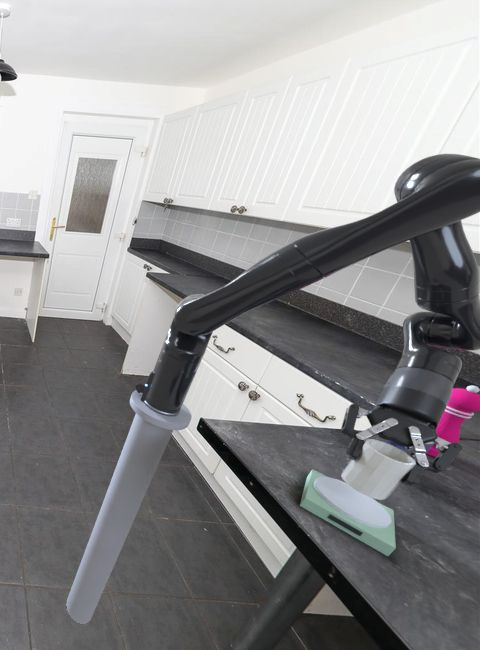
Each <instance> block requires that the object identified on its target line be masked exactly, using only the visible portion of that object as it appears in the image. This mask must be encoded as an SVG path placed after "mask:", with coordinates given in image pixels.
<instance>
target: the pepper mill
mask: <svg viewBox="0 0 480 650" xmlns="http://www.w3.org/2000/svg"><path fill="white" fill-rule="evenodd" d="M475 412H480V388H479V386H476V385H468V386H467V387H466V388H460V387H456V388H455V387H453V388H452V394H451V397H450V400H449V402H448V404H447V406H446V409H445V411H444V413H443V415H442V417H441V420H440V422H439V424H438V426H437V428H436V433H437V435H438V437H439V438H441V439H444V440H446V441H448V442H450V443H458V444H460V438H461V426H462V425H463V423H464V422H465V421H466V420H467V419H472V417H473V416H474V415H475ZM438 454H439V451H438V450H437V449H436V444H435V443H434V445H433V446H432V447H431V448H430V449H429V450H428V451H427V453H426V455H428V456H431V457H434V458H436V456H437V455H438Z"/></svg>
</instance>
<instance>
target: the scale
mask: <svg viewBox="0 0 480 650" xmlns="http://www.w3.org/2000/svg"><path fill="white" fill-rule="evenodd" d="M299 507H301V508H303V509H305V510H306V511H308V512H310V513H312V514H313V515H315V516H317V517H318V518H320V519H321V520H323V521H325V522H327V523H328V524H331V525H332V526H333V527H336V528H338V529H339V530H341V531H343V532H345V533H346V534H348V535H350V536H351V537H353V538H355V539H357V540H358V541H360V542H362V543H364V544H365V545H367V546H369V547H370V548H372V549H374V550H375V551H377V552H379V553H381V554H382V555H385V556H386V557H389V556H390V555H391V554H392V553H393V552H394V551H395V550H396V549H397V545H396V529H395V528H396V525H395V512H394V509H392V508H390V507H388V506H386V505H384V504H382V503H380V502H378V501H377V499H374V498H371V497H368V496H366V495H364V494H362V493H360V492H358V491H357V490H355V489H353V488H352V487H351V486H349V485H348V484H347V483H346V482H345V481H344V480H343V481H342V480H341V479H340V480H339V479H336V478H333V477H330V476H327V475H325V474H323V473H321V472H319V471H318V470H315V469H311V470H310V472H309V473H308V475H307V477H306V480H305V484H304V488H303V492H302V495H301V499H300V503H299Z"/></svg>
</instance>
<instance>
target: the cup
mask: <svg viewBox="0 0 480 650" xmlns="http://www.w3.org/2000/svg"><path fill="white" fill-rule="evenodd" d="M364 442H365V443H364V445H363V447H362V449H361V452H360V454H359V456H358V457H357V459H355V460H352V459H350V461H349V462H348V463H347V465H346V467H345V468H344V469H343V471H342V472H341V479H342V480H343V482H345V483H347V484H348V485H349V486H351V487H352V488H353V489H355V490H357V491H358V492H360V493H362V494H364V495H366V496H368V497H371V498H373V499H374V500H379V501H385V500H387V499H388V498H389V497H390V495H391V494H392V493H393V492H394V491H395V490H396V488H398V486H399V485H400V483H401V482H402V480H403V479H404V478H405V476H406V475H407V474H408V473H409V472H410V470H411V469H412V468H413V467H414V466H415V465H416V462H415V460H414V459H413V458H412V457H411V456H410V455H408V454H407V453H405V452H404V451H402V450H400V449H399V448H397V447H395V446H393V445H390V444H388V443H385V442H386V441H381V440H380V439H379V440H378V439H374V438H368V439H366V440H364Z"/></svg>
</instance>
